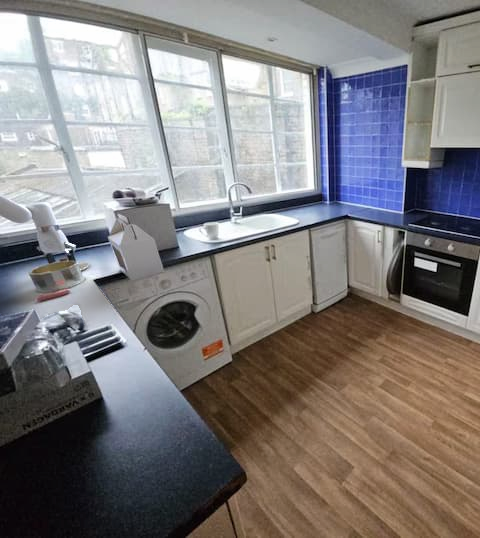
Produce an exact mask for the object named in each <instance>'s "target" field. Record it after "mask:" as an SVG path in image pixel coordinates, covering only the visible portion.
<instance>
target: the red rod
mask: <svg viewBox="0 0 480 538" xmlns="http://www.w3.org/2000/svg"><path fill="white" fill-rule="evenodd" d="M70 293H71V290H70V289H69V288H66V289H62V290H58V291H53V292H49V293H47V294H43V295H40V296H38V297H36V301H38V302H43V301H47V300H50V299H54V298H58V297H62V296H65V295H68V294H70Z"/></svg>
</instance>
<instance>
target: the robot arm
mask: <svg viewBox="0 0 480 538" xmlns="http://www.w3.org/2000/svg"><path fill="white" fill-rule="evenodd" d="M0 216H1V217H2V218H4V219H6V220H8V221H10V222H12V223H14V224H15V223H16V224H25V223H28V222H29V221H31V220H32V222H33V223H34V226H35V230H36V231H37V233H36V237H37V241H38V244H39V245H38V246H36V249H37V250H38V252H39V253H40V254H42V255H43V256H44V257H45V258H46V260H47V264H50V263H55V262H57V260H56V258H55V256H54V254H57V253H64V254H65V255H66V257H67V259H68V261H76V262H77V259H76V256H75V252H76V249H77V245H76V244H72V243H70V242H69V240H68V238H67V237H66V235H65V234H64V232H63V231H62V230H61V228H60V225H59V223H58V220H57V218H56V216H55V214H54V211H53V208H52V206H51V204H50V203H49V202H46V201H39V202H32V203H17V202H15V201H14V200H11V199H9V198H8V197H6V196H4V195H2V194H0Z"/></svg>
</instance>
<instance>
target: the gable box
mask: <svg viewBox="0 0 480 538" xmlns="http://www.w3.org/2000/svg"><path fill="white" fill-rule="evenodd" d="M114 218H115V219H116V220H115V221H114V223H113V226H112V228H111V230H110V233H109V235H108V236H107V239H108V242H109V244H110V247H111V250H112V251H113V255H114V257H115V260H116V263H117V266H118V268H119V270H120V271H121V273H122V274H124V275H125V276H126V277H127V278H128V279H130V281H132V282H136V281H139V280H143V279H147V278H151V277H154V276H156V275H160V274H163V273H165V268H164V266H163V263H162V260H161V257H160V254H159V250H158V248H157V243H156V241H155V238H154V237H152V236H151V235H149V234H148V233H147V232H146V231H144V230H143V229H142V228H141V227H139V226H138V225H137V224H134V223H131V222H130V221H131V220H130V219H129V217H128V216H125V215H123V214H121V213H117V216H114Z"/></svg>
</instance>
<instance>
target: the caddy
mask: <svg viewBox="0 0 480 538" xmlns="http://www.w3.org/2000/svg"><path fill="white" fill-rule="evenodd" d="M78 263H79V262H78V261H77V260H76V261H69V260H68V261H61V262H60V261H56V262H54V263H50V264H49V263H46V264H43V265H40V266H37V267H34V268H32V269H30V270H29V271H28V275H29V277H30V278H31V281H32V282H33V285H34V287H35V289H36V291H38V292H40V293H53V292H58V291H61V290H65V289H69V288H72V287H74V286H77V285H79V284H81V283H82V282H84V281H85V276H84V275H83V272H82V270H80V268H79V265H78Z"/></svg>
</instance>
